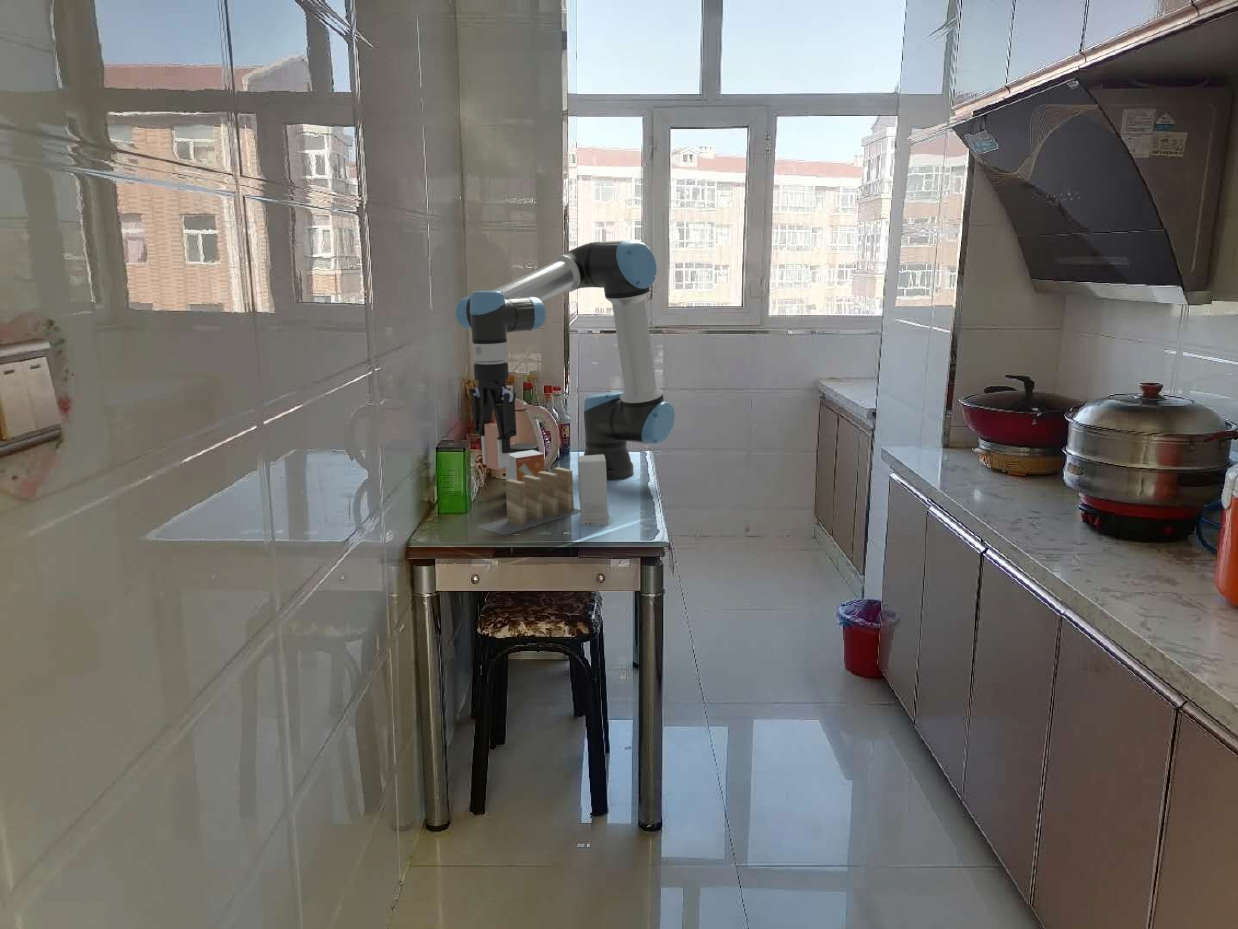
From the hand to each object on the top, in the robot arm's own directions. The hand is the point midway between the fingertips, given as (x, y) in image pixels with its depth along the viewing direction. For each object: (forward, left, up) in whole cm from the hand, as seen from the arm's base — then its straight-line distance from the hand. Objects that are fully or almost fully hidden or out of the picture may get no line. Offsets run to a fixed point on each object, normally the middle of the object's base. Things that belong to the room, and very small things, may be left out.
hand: (496, 465), depth 209 cm
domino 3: (-10, 0, -15) cm, 18 cm away
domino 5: (-20, 0, -15) cm, 25 cm away
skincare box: (-18, +12, -16) cm, 27 cm away
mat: (-10, 0, -15) cm, 18 cm away
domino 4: (-15, 0, -15) cm, 21 cm away
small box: (-19, -13, -16) cm, 28 cm away
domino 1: (0, 0, -1) cm, 1 cm away
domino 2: (-5, 0, -15) cm, 16 cm away
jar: (-28, -24, -16) cm, 40 cm away
